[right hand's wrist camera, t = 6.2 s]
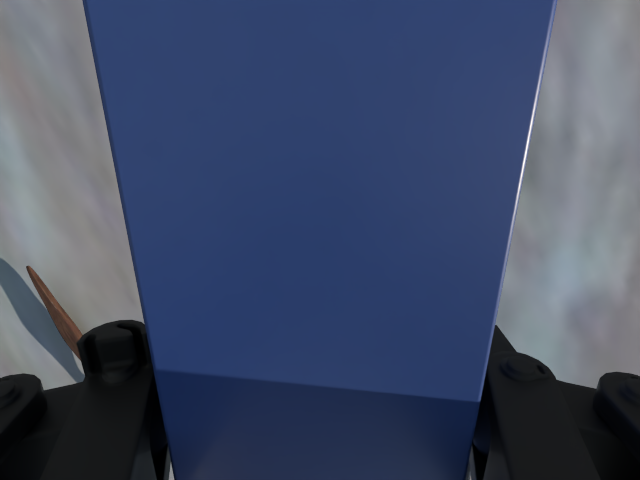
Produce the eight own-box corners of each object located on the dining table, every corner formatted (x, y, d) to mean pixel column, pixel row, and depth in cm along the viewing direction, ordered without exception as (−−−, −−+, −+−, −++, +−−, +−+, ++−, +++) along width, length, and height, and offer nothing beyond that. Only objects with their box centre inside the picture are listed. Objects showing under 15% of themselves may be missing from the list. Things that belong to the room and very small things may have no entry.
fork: (50, 257, 25) (29, 270, 24) (155, 431, 31) (145, 452, 29) (16, 267, 26) (-8, 281, 24) (126, 437, 31) (114, 459, 29)
